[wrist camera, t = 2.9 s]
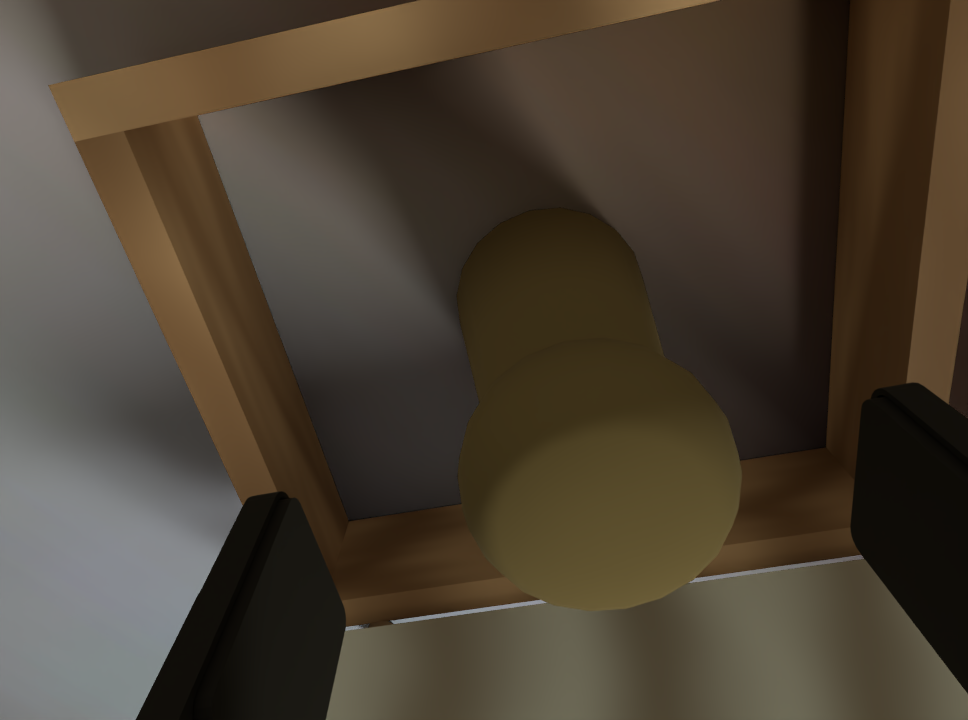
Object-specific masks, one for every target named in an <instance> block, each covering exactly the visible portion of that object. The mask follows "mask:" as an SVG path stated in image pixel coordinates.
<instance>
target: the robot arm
mask: <svg viewBox="0 0 968 720" xmlns="http://www.w3.org/2000/svg"><path fill="white" fill-rule="evenodd" d="M850 530H851V536H852V539H853V542H854V544H855V546H856V548H857V549H858V551H859V552H860V553H861V555H862V556H863V557H864V559H865V560H866V561H867V563H868V564H869V565H870V567H871V568H872V569H873V571H874V572H875V573H876V574H877V576H878V577H879V578H880V580H881V581H882V582H883V584H884V585H885V586H886V588H887V589H888V590H889V591H890V593H891V594H892V595H893V597H894V598H895V599H896V601H897V602H898V603H899V605H900V606H901V607H902V609H903V610H904V611H905V612H906V614H907V615H908V616H909V618H910V619H911V620H912V622H913V623H914V624H915V626H916V627H917V628H918V629H919V631H920V632H921V633H922V635H923V636H924V637H925V639H926V640H927V641H928V643H929V644H930V645H931V647H932V648H933V649H934V650H935V652H936V653H937V654H938V656H939V657H940V658H941V660H942V661H943V662H944V664H945V665H946V666H947V667H948V669H949V670H950V671H951V673H952V674H953V675H954V677H955V678H956V679H957V681H958V682H959V683H960V685H961V686H962V687H963V688H964V690H965V691H966V692H967V694H968V419H967V418H966V417H964V416H963V415H962V414H960V413H959V412H958V411H956V410H955V409H954V408H952V407H951V406H950V405H948V404H947V403H946V402H945V401H943V400H942V399H941V398H939V397H938V396H937V395H935V394H934V393H933V392H931V391H930V390H929V389H927V388H926V387H925V386H923V385H921V384H919V383H914V382H912V383H907V384H901V385H895V386H889V387H883V388H878V389H876V390H874V392H873V393H872V395H871V399H868V400H865V401H864V402H863V404H862V407H861V416H860V427H859V438H858V448H857V459H856V470H855V481H854V491H853V502H852V513H851V524H850ZM345 628H346V614H345V609H344V605H343V603H342V601H341V598H340V596H339V593H338V591H337V589H336V586H335V584H334V582H333V579H332V577H331V575H330V572H329V570H328V567H327V565H326V563H325V560H324V558H323V556H322V553H321V551H320V548H319V546H318V544H317V541H316V539H315V537H314V534H313V532H312V529H311V527H310V525H309V522H308V520H307V518H306V515H305V513H304V511H303V508H302V506H301V504H300V502H299V500H298V499H297V498H289V496H288V495H287V494H286V493H285V492H283V491H279V492H273V493H267V494H261V495H255V496H251V497H249V498H247V500H246V501H245V503H244V505H243V507H242V509H241V511H240V513H239V515H238V517H237V519H236V521H235V523H234V525H233V527H232V529H231V531H230V533H229V535H228V537H227V539H226V541H225V543H224V545H223V547H222V549H221V551H220V553H219V555H218V557H217V559H216V561H215V563H214V565H213V567H212V569H211V571H210V573H209V575H208V577H207V579H206V581H205V583H204V585H203V587H202V589H201V591H200V593H199V594H198V596H197V598H196V600H195V602H194V604H193V606H192V608H191V610H190V612H189V614H188V616H187V618H186V620H185V622H184V624H183V626H182V628H181V630H180V632H179V634H178V636H177V638H176V640H175V642H174V644H173V646H172V648H171V650H170V652H169V654H168V656H167V658H166V660H165V662H164V664H163V666H162V668H161V670H160V672H159V674H158V676H157V678H156V680H155V682H154V684H153V686H152V688H151V690H150V692H149V694H148V696H147V698H146V700H145V702H144V704H143V706H142V708H141V710H140V712H139V714H138V716H137V718H136V720H326V717H327V712H328V708H329V703H330V698H331V694H332V689H333V684H334V680H335V675H336V671H337V666H338V661H339V657H340V652H341V647H342V643H343V638H344V634H345Z"/></svg>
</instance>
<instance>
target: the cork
mask: <svg viewBox="0 0 968 720" xmlns="http://www.w3.org/2000/svg"><path fill="white" fill-rule="evenodd" d="M457 304H458V312H459V320H460V325H461V330H462V334H463V338H464V342H465V346H466V350H467V354H468V358H469V363H470V367H471V371H472V375H473V379H474V383H475V387H476V391H477V395H478V400H479V405H478V406H477V408H476V409H475V411H474V413H473V415H472V416H471V418H470V420H469V422H468V424H467V428H466V432H465V436H464V440H463V444H462V448H461V453H460V457H459V466H458V483H459V490H460V497H461V504H462V511H463V514H464V517H465V520H466V523H467V526H468V529H469V531H470V533H471V534H472V536H473V538H474V540H475V541H476V543H477V545H478V546H479V548H480V550H481V552H482V553H483V555H484V557H485V558H486V559H487V560H488V561H489V562H490V563H491V564H492V565H493V566H494V567H495V568H496V569H497V570H498V571H499V572H500V573H501V574H502V575H504V576H505V577H506V578H507V579H508V580H510V581H511V582H512V583H513V584H514V585H515V586H517V587H518V588H519V589H520V590H521V591H522V592H524V593H527V594H529V595H531V596H533V597H536V598H538V599H540V600H543V601H545V602H547V603H550V604H552V605H554V606H560V607H566V608H572V609H579V610H585V611H601V610H615V609H627V608H630V607H634V606H637V605H640V604H644V603H647V602H650V601H654V600H657V599H660V598H663V597H665V596H666V595H668V594H670V593H671V592H673V591H675V590H677V589H678V588H680V587H682V586H683V585H685V584H687V583H689V582H690V581H692V580H694V579H695V578H696V576H697V575H698V574H699V573H700V572H701V571H702V570H703V569H704V568H705V567H706V566H707V565H708V564H709V563H710V562H711V561H712V560H713V559H714V558H715V557H716V556H717V555H718V554H719V552H720V550H721V548H722V546H723V544H724V542H725V540H726V538H727V536H728V534H729V532H730V530H731V528H732V526H733V523H734V520H735V517H736V515H737V512H738V509H739V500H740V490H741V480H742V470H741V465H740V459H739V454H738V451H737V448H736V444H735V441H734V438H733V435H732V432H731V428H730V425H729V422H728V419H727V417H726V416H725V414H724V413H723V412H722V410H721V409H720V407H719V406H718V404H717V403H716V402H715V400H714V399H713V398H712V397H711V396H710V395H709V393H708V392H707V391H706V390H705V389H704V387H703V386H702V385H701V384H700V383H699V381H698V380H697V379H696V378H695V377H694V375H693V374H692V373H691V372H689V371H687V370H686V369H684V368H682V367H681V366H679V365H677V364H675V363H674V362H672V361H670V360H668V359H667V358H665V357H664V354H663V350H662V346H661V343H660V339H659V335H658V332H657V328H656V325H655V321H654V317H653V314H652V310H651V307H650V303H649V299H648V296H647V292H646V288H645V285H644V281H643V278H642V275H641V272H640V269H639V266H638V263H637V260H636V257H635V254H634V252H633V251H632V249H631V248H630V247H629V246H628V245H627V243H626V242H625V241H624V240H623V238H622V237H621V236H620V235H619V233H618V232H617V231H616V230H615V229H613V228H612V227H610V226H609V225H607V224H605V223H604V222H602V221H600V220H599V219H597V218H595V217H594V216H592V215H591V214H587V213H582V212H578V211H573V210H568V209H564V208H552V209H542V210H532V211H527V212H525V213H523V214H520V215H518V216H516V217H513V218H511V219H509V220H507V221H504V222H502V223H500V224H499V225H498V226H497V227H495V228H494V229H493V230H492V231H491V232H490V233H489V234H487V235H486V236H485V237H484V238H483V239H482V240H481V241H479V242H478V243H477V245H476V246H475V248H474V250H473V251H472V253H471V255H470V257H469V258H468V260H467V262H466V263H465V265H464V267H463V268H462V273H461V277H460V282H459V287H458V292H457Z"/></svg>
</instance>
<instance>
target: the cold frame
mask: <svg viewBox="0 0 968 720" xmlns="http://www.w3.org/2000/svg"><path fill="white" fill-rule="evenodd" d="M716 1H720V0H418V1H414V2H410V3H405V4H401V5H396V6H392V7H388V8H383V9H379V10H375V11H370V12H366V13H362V14H357V15H353V16H349V17H344V18H340V19H335V20H331V21H327V22H322V23H318V24H314V25H309V26H305V27H301V28H296V29H292V30H288V31H283V32H279V33H274V34H270V35H266V36H261V37H257V38H253V39H248V40H244V41H240V42H235V43H231V44H227V45H222V46H218V47H213V48H209V49H205V50H200V51H196V52H192V53H187V54H183V55H179V56H174V57H170V58H165V59H161V60H157V61H152V62H148V63H144V64H139V65H135V66H131V67H126V68H122V69H118V70H113V71H109V72H104V73H100V74H96V75H91V76H87V77H83V78H78V79H74V80H70V81H65V82H61V83H57V84H52V85H48V86H49V88H50V90H51V92H52V94H53V96H54V99H55V101H56V103H57V105H58V107H59V109H60V112H61V114H62V116H63V118H64V120H65V122H66V124H67V127H68V129H69V131H70V133H71V135H72V137H73V140H74V142H75V144H76V146H77V148H78V150H79V153H80V155H81V157H82V159H83V161H84V163H85V166H86V168H87V170H88V172H89V174H90V176H91V179H92V181H93V183H94V185H95V187H96V189H97V191H98V194H99V196H100V198H101V200H102V202H103V204H104V207H105V209H106V211H107V213H108V215H109V217H110V220H111V222H112V224H113V226H114V228H115V230H116V233H117V235H118V237H119V239H120V241H121V243H122V246H123V248H124V250H125V252H126V254H127V256H128V259H129V261H130V263H131V265H132V267H133V269H134V271H135V274H136V276H137V278H138V280H139V282H140V284H141V287H142V289H143V291H144V293H145V295H146V297H147V300H148V302H149V304H150V306H151V308H152V310H153V313H154V315H155V317H156V319H157V321H158V323H159V326H160V328H161V330H162V332H163V334H164V336H165V339H166V341H167V343H168V345H169V347H170V349H171V351H172V354H173V356H174V358H175V360H176V362H177V364H178V367H179V369H180V371H181V373H182V375H183V377H184V380H185V382H186V384H187V386H188V388H189V390H190V393H191V395H192V397H193V399H194V401H195V403H196V406H197V408H198V410H199V412H200V414H201V416H202V418H203V421H204V423H205V425H206V427H207V429H208V431H209V434H210V436H211V438H212V440H213V442H214V444H215V447H216V449H217V451H218V453H219V455H220V457H221V460H222V462H223V464H224V466H225V468H226V470H227V473H228V475H229V477H230V479H231V481H232V483H233V486H234V488H235V490H236V492H237V494H238V496H239V498H240V501H241V503H242V505H244V503H245V501H246V500H247V498H249V497H251V496H255V495H261V494H267V493H273V492H279V491H283V492H285V493H286V494H287V495H288V496H289V498H297V499H298V500H299V502H300V504H301V506H302V508H303V511H304V513H305V515H306V518H307V520H308V522H309V525H310V527H311V529H312V532H313V534H314V537H315V539H316V541H317V544H318V546H319V548H320V551H321V553H322V556H323V558H324V560H325V563H326V565H327V567H328V570H329V572H330V575H331V577H332V579H333V582H334V584H335V586H336V589H337V591H338V593H339V596H340V598H341V601H342V603H343V605H344V609H345V614H346V627H348V626H355V625H362V624H369V623H371V624H370V625H369V627H368V628H364V629H357V630H349V631H345V634H344V638H343V643H342V647H341V652H340V657H339V661H338V666H337V671H336V675H335V680H334V684H333V689H332V694H331V698H330V703H329V708H328V712H327V717H326V720H968V694H967V692H966V691H965V690H964V688H963V687H962V686H961V685H960V683H959V682H958V681H957V679H956V678H955V677H954V675H953V674H952V673H951V671H950V670H949V669H948V667H947V666H946V665H945V664H944V662H943V661H942V660H941V658H940V657H939V656H938V654H937V653H936V652H935V650H934V649H933V648H932V647H931V645H930V644H929V643H928V641H927V640H926V639H925V637H924V636H923V635H922V633H921V632H920V631H919V629H918V628H917V627H916V626H915V624H914V623H913V622H912V620H911V619H910V618H909V616H908V615H907V614H906V612H905V611H904V610H903V609H902V607H901V606H900V605H899V603H898V602H897V601H896V599H895V598H894V597H893V595H892V594H891V593H890V591H889V590H888V589H887V588H886V586H885V585H884V584H883V582H882V581H881V580H880V578H879V577H878V576H877V574H876V573H875V572H874V571H873V569H872V568H871V567H870V565H869V564H868V563H867V561H866V560H865V559H860V560H853V561H846V562H838V563H831V564H824V565H817V566H810V567H802V568H795V569H788V570H781V571H774V572H767V573H759V574H752V575H745V576H738V577H731V578H723V579H716V580H709V581H702V582H695V583H687V584H685V585H683V586H682V587H680V588H678V589H677V590H675V591H673V592H671V593H670V594H668V595H666V596H665V597H663V598H660V599H657V600H654V601H650V602H647V603H644V604H640V605H637V606H634V607H630V608H627V609H615V610H601V611H585V610H579V609H572V608H566V607H560V606H554V605H552V604H550V603H544V604H536V605H529V606H522V607H515V608H508V609H500V610H493V611H486V612H479V613H472V614H465V615H457V616H450V617H443V618H436V619H429V620H421V621H414V622H407V623H400V624H392V623H391V622H389V621H391V620H398V619H405V618H412V617H419V616H427V615H434V614H441V613H448V612H455V611H462V610H469V609H477V608H484V607H491V606H498V605H505V604H512V603H520V602H527V601H534V600H540V599H538V598H536V597H533V596H531V595H529V594H527V593H524V592H522V591H521V590H520V589H519V588H518V587H517V586H515V585H514V584H513V583H512V582H511V581H510V580H508V579H507V578H506V577H505V576H504V575H502V574H501V573H500V572H499V571H498V570H497V569H496V568H495V567H494V566H493V565H492V564H491V563H490V562H489V561H488V560H487V559H486V558H485V557H484V555H483V553H482V552H481V550H480V548H479V546H478V545H477V543H476V541H475V540H474V538H473V536H472V534H471V533H470V531H469V529H468V526H467V523H466V520H465V517H464V514H463V511H462V504H458V505H452V506H445V507H439V508H432V509H426V510H419V511H413V512H406V513H400V514H394V515H387V516H381V517H374V518H368V519H361V520H355V521H348V518H347V515H346V513H345V510H344V507H343V505H342V502H341V499H340V497H339V494H338V491H337V489H336V486H335V483H334V481H333V478H332V475H331V473H330V470H329V467H328V464H327V462H326V459H325V456H324V454H323V451H322V448H321V446H320V443H319V440H318V438H317V435H316V432H315V430H314V427H313V424H312V422H311V419H310V416H309V414H308V411H307V408H306V406H305V403H304V400H303V398H302V395H301V392H300V390H299V387H298V384H297V381H296V379H295V376H294V373H293V371H292V368H291V365H290V363H289V360H288V357H287V355H286V352H285V349H284V347H283V344H282V341H281V339H280V336H279V333H278V331H277V328H276V325H275V323H274V320H273V317H272V315H271V312H270V309H269V306H268V304H267V301H266V298H265V296H264V293H263V290H262V288H261V285H260V282H259V280H258V277H257V274H256V272H255V269H254V266H253V264H252V261H251V258H250V256H249V253H248V250H247V248H246V245H245V242H244V240H243V237H242V234H241V232H240V229H239V226H238V223H237V221H236V218H235V215H234V213H233V210H232V207H231V205H230V202H229V199H228V197H227V194H226V191H225V189H224V186H223V183H222V181H221V178H220V175H219V173H218V170H217V167H216V165H215V162H214V159H213V157H212V154H211V151H210V149H209V146H208V143H207V140H206V138H205V135H204V132H203V130H202V127H201V124H200V122H199V119H198V116H197V115H202V114H206V113H211V112H215V111H220V110H224V109H229V108H233V107H238V106H243V105H247V104H252V103H256V102H261V101H265V100H270V99H274V98H279V97H284V96H288V95H293V94H297V93H302V92H306V91H311V90H315V89H320V88H324V87H329V86H334V85H338V84H343V83H347V82H352V81H356V80H361V79H365V78H370V77H375V76H379V75H384V74H388V73H393V72H397V71H402V70H406V69H411V68H415V67H420V66H425V65H429V64H434V63H438V62H443V61H447V60H452V59H456V58H461V57H466V56H470V55H475V54H479V53H484V52H488V51H493V50H497V49H502V48H506V47H511V46H516V45H520V44H525V43H529V42H534V41H538V40H543V39H547V38H552V37H557V36H561V35H566V34H570V33H575V32H579V31H584V30H588V29H593V28H597V27H602V26H607V25H611V24H616V23H620V22H625V21H629V20H634V19H638V18H643V17H648V16H652V15H657V14H661V13H666V12H670V11H675V10H679V9H684V8H688V7H693V6H698V5H702V4H707V3H711V2H716ZM967 279H968V0H850V14H849V33H848V51H847V70H846V88H845V107H844V125H843V144H842V162H841V181H840V199H839V218H838V236H837V255H836V273H835V292H834V310H833V329H832V348H831V366H830V385H829V403H828V422H827V440H826V447H825V448H819V449H813V450H806V451H800V452H793V453H787V454H780V455H774V456H767V457H761V458H755V459H748V460H742V461H740V465H741V470H742V480H741V490H740V500H739V509H738V512H737V515H736V517H735V520H734V523H733V526H732V528H731V530H730V532H729V534H728V536H727V538H726V540H725V542H724V544H723V546H722V548H721V550H720V552H719V554H718V555H717V556H716V557H715V558H714V559H713V560H712V561H711V562H710V563H709V564H708V565H707V566H706V567H705V568H704V569H703V570H702V571H701V572H700V573H699V574H698V575H697V576H696V578H699V577H706V576H713V575H720V574H727V573H734V572H741V571H749V570H756V569H763V568H770V567H777V566H784V565H792V564H799V563H806V562H813V561H820V560H827V559H835V558H842V557H849V556H856V555H861V553H860V552H859V551H858V549H857V548H856V546H855V544H854V542H853V539H852V536H851V530H850V524H851V513H852V502H853V491H854V481H855V470H856V459H857V448H858V438H859V427H860V416H861V407H862V404H863V402H864V401H865V400H868V399H871V395H872V393H873V392H874V390H876V389H878V388H883V387H889V386H895V385H901V384H907V383H912V382H914V383H919V384H921V385H923V386H925V387H926V388H927V389H929V390H930V391H931V392H933V393H934V394H935V395H937V396H938V397H939V398H941V399H942V400H943V401H945V402H946V403H947V404H949V398H950V391H951V384H952V378H953V371H954V365H955V358H956V351H957V345H958V338H959V332H960V325H961V319H962V312H963V305H964V299H965V292H966V286H967Z"/></svg>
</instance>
